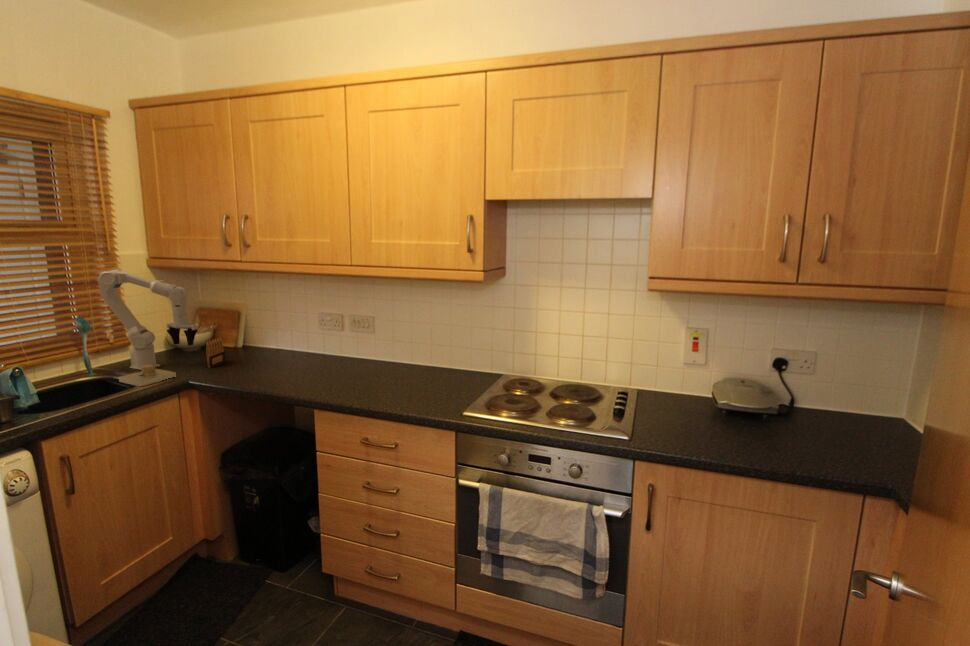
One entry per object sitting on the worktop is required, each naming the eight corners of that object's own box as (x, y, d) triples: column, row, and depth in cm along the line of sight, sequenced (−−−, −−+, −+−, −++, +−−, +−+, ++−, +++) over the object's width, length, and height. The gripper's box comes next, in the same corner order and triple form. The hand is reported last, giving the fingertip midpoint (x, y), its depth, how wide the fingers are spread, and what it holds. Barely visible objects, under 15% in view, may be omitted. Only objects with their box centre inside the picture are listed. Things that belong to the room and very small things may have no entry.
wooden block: (142, 379, 202) (141, 366, 201) (150, 377, 205) (149, 364, 204) (147, 380, 201) (146, 367, 200) (155, 378, 204) (154, 365, 203)
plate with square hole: (119, 381, 199) (118, 377, 199) (154, 372, 212) (154, 368, 211) (141, 386, 193) (140, 381, 193) (176, 377, 206) (175, 372, 205)
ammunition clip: (222, 361, 230) (219, 336, 228) (226, 362, 230) (223, 336, 227) (206, 368, 219) (203, 341, 217) (210, 368, 219) (207, 341, 217)
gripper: (159, 315, 218) (162, 345, 220) (186, 316, 214) (189, 347, 217) (173, 312, 224) (176, 342, 227) (199, 314, 221) (202, 344, 223)
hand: (183, 344), depth 222 cm, fingers open, 7 cm apart
